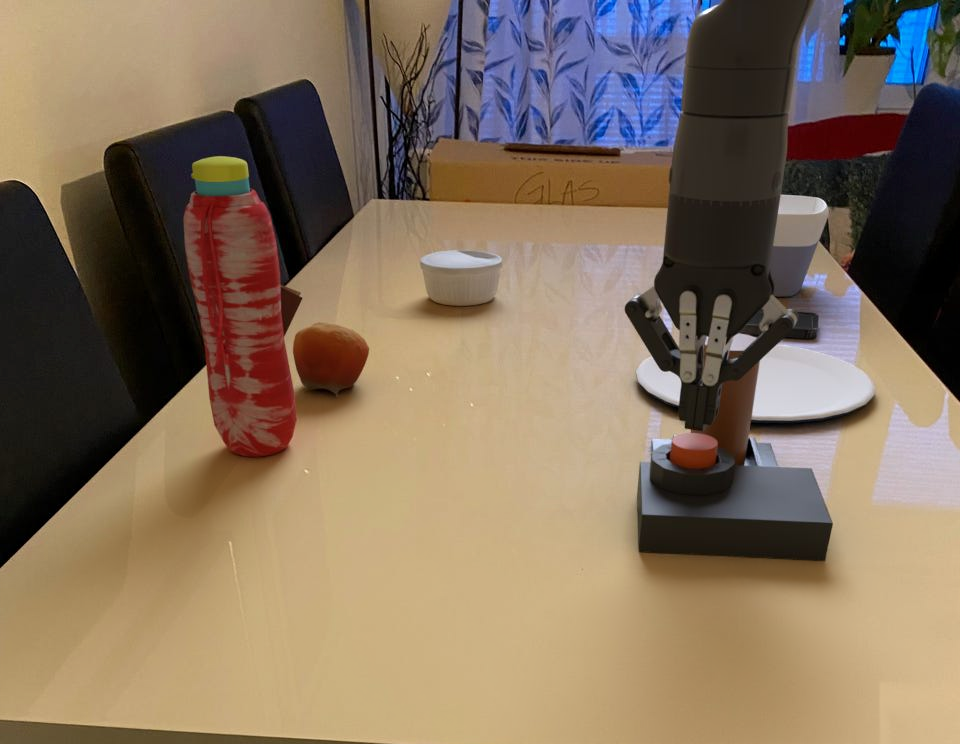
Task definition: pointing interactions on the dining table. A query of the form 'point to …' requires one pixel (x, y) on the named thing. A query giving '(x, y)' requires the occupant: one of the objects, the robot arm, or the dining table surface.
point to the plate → (784, 386)
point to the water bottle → (240, 308)
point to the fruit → (329, 356)
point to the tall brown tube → (735, 406)
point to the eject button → (693, 450)
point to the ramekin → (461, 276)
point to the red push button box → (730, 509)
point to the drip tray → (754, 455)
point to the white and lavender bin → (795, 241)
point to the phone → (802, 328)
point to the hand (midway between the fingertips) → (696, 426)
